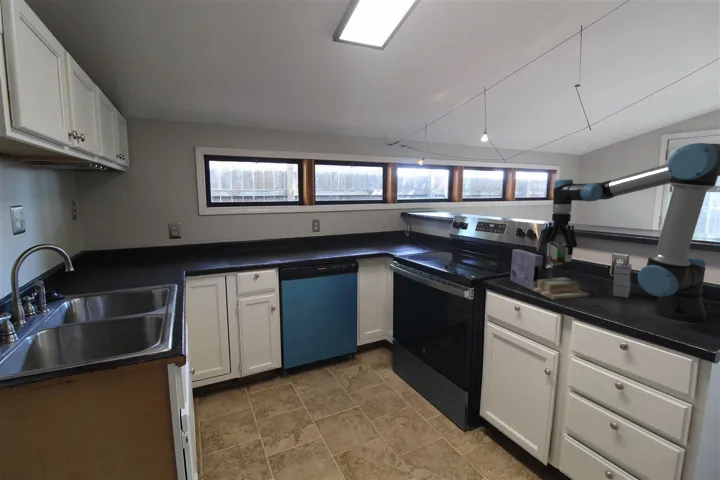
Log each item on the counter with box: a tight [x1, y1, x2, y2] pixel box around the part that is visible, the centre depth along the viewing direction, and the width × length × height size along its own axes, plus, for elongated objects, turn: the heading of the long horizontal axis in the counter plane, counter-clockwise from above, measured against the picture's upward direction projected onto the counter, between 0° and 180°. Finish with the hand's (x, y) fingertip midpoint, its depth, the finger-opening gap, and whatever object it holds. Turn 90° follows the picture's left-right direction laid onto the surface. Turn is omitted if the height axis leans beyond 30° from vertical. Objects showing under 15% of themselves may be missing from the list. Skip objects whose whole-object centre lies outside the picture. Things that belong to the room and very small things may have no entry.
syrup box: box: [612, 262, 633, 298], centre depth 162 cm, size 6×6×14 cm
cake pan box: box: [509, 248, 544, 291], centre depth 181 cm, size 19×5×18 cm, turn 12°
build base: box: [532, 276, 589, 300], centre depth 170 cm, size 18×18×6 cm
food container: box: [549, 241, 567, 267], centre depth 167 cm, size 12×6×10 cm, turn 168°
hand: (558, 258), depth 168 cm, fingers closed on food container, 11 cm apart
